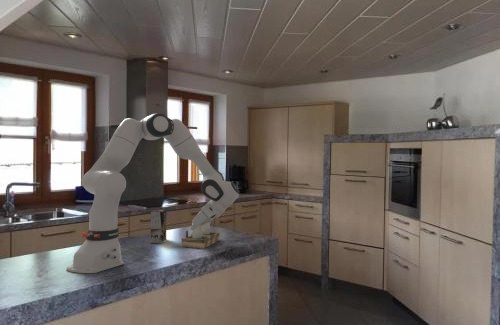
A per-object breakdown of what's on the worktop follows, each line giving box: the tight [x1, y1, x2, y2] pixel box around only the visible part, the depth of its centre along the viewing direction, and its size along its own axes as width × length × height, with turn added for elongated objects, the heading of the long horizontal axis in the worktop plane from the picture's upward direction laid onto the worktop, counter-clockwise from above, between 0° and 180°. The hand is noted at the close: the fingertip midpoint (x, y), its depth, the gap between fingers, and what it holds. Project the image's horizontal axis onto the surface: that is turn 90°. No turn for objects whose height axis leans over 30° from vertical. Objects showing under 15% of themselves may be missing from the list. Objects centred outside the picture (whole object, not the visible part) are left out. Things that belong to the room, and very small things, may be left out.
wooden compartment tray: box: [181, 230, 221, 250], centre depth 204 cm, size 20×12×7 cm, turn 162°
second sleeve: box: [201, 221, 211, 235], centre depth 208 cm, size 5×5×9 cm
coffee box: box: [150, 209, 167, 244], centre depth 208 cm, size 9×6×16 cm
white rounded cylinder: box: [191, 222, 202, 240], centre depth 198 cm, size 5×5×9 cm
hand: (195, 227), depth 199 cm, fingers open, 8 cm apart
